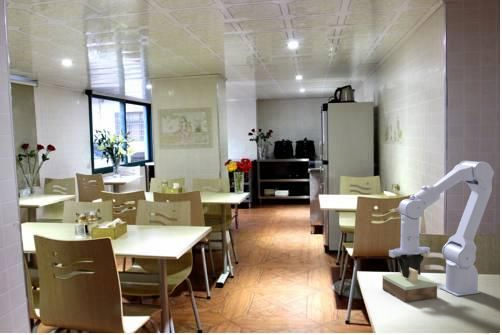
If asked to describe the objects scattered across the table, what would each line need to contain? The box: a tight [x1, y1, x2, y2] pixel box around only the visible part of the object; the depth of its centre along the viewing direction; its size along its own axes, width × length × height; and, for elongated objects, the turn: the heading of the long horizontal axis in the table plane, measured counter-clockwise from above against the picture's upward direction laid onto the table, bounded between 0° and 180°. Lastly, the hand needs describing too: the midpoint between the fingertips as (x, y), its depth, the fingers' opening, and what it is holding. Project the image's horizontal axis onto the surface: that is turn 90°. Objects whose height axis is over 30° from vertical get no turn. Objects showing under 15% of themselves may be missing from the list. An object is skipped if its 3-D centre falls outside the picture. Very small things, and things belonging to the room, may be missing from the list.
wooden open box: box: [382, 277, 438, 303], centre depth 136 cm, size 12×12×4 cm
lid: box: [382, 267, 438, 290], centre depth 135 cm, size 12×12×5 cm
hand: (409, 276), depth 135 cm, fingers open, 2 cm apart
